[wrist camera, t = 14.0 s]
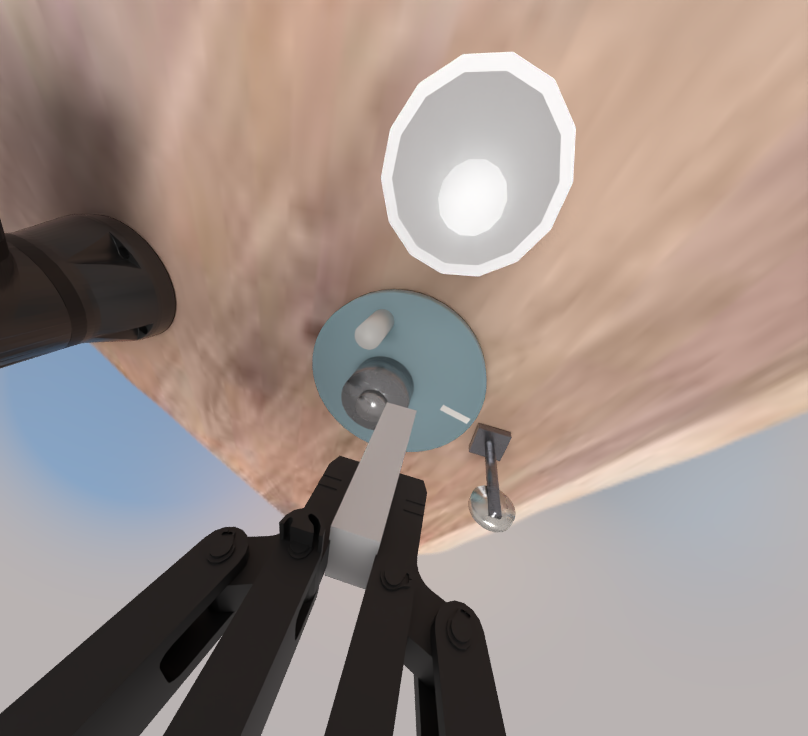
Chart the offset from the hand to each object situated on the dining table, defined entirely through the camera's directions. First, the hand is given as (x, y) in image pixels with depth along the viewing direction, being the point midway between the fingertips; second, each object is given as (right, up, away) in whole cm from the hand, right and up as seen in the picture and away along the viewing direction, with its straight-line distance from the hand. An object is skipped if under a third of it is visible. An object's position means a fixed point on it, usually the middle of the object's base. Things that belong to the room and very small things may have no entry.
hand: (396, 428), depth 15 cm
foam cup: (+7, +18, +12) cm, 23 cm away
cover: (-2, +1, +19) cm, 19 cm away
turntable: (0, +3, +21) cm, 21 cm away
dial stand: (+11, -6, +22) cm, 26 cm away
